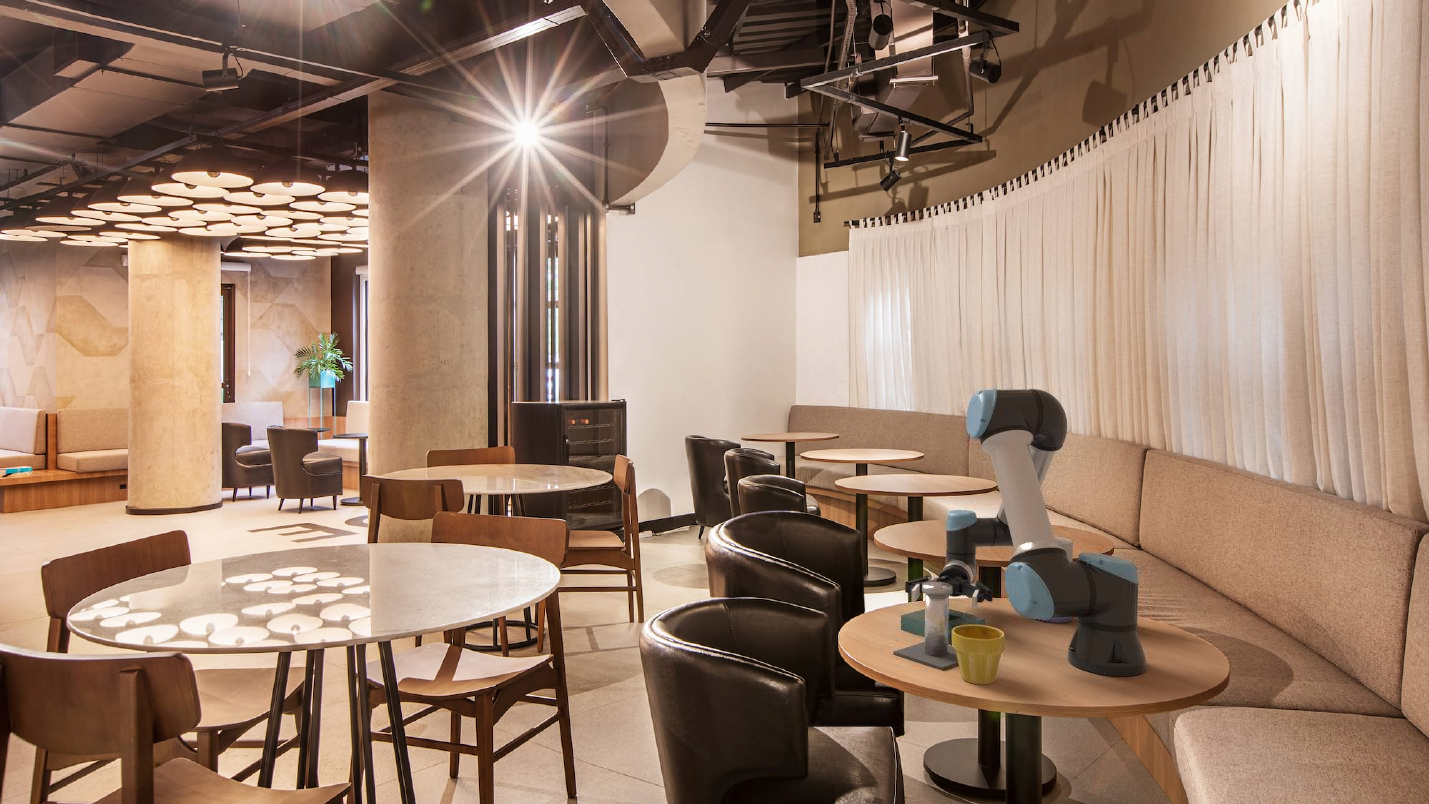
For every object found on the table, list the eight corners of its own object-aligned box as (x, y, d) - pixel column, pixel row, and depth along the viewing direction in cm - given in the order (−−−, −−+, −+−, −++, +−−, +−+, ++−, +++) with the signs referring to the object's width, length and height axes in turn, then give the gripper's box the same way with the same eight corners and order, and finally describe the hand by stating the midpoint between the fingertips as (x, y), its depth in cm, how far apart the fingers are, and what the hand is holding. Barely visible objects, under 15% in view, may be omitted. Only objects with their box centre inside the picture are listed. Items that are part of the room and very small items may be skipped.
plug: (957, 653, 187) (958, 586, 186) (939, 659, 183) (940, 590, 182) (933, 646, 192) (934, 580, 191) (915, 652, 188) (916, 584, 187)
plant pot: (946, 683, 171) (946, 634, 171) (957, 667, 180) (957, 621, 180) (999, 692, 166) (1000, 642, 166) (1008, 675, 175) (1008, 628, 175)
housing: (985, 632, 204) (985, 618, 204) (949, 644, 195) (949, 629, 195) (936, 619, 215) (936, 605, 215) (900, 629, 206) (900, 615, 206)
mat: (978, 657, 186) (978, 654, 186) (942, 670, 178) (942, 667, 178) (930, 642, 196) (930, 640, 196) (893, 654, 188) (893, 651, 188)
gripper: (1007, 598, 211) (999, 622, 191) (905, 588, 220) (888, 609, 201) (1007, 568, 210) (1000, 588, 191) (905, 559, 220) (888, 577, 201)
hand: (943, 599), depth 196 cm, fingers open, 13 cm apart
